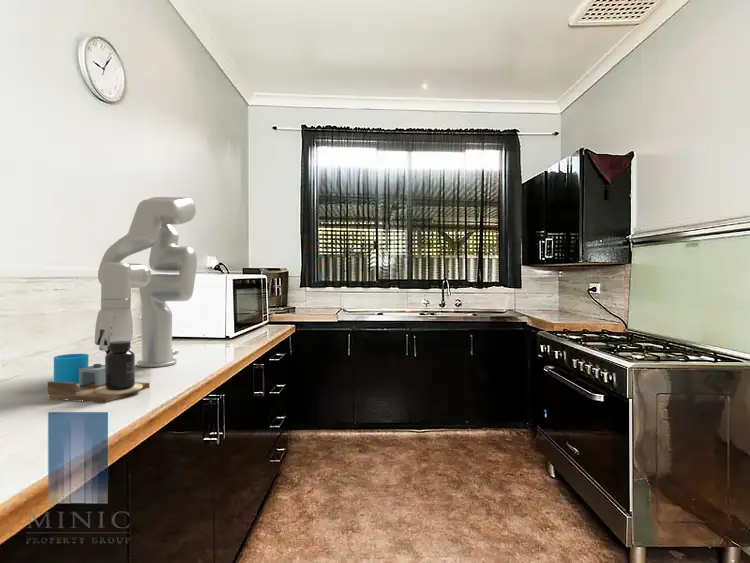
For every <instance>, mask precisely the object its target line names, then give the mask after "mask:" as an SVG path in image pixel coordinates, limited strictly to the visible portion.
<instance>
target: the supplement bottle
mask: <svg viewBox="0 0 750 563" xmlns="http://www.w3.org/2000/svg"><path fill="white" fill-rule="evenodd" d="M130 349H131V342H130V341H116V342H111V343H110V348H109V350H110V352H109V353H108V354H107V355H105V357H104V361H105V362H104V365H105V385H106V389H108V390H123V389H128V388H131V387H133V386H134V385H135V382H136V360H135V359H136V354H135V353H134V352H133V351H132V350H130Z"/></svg>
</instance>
